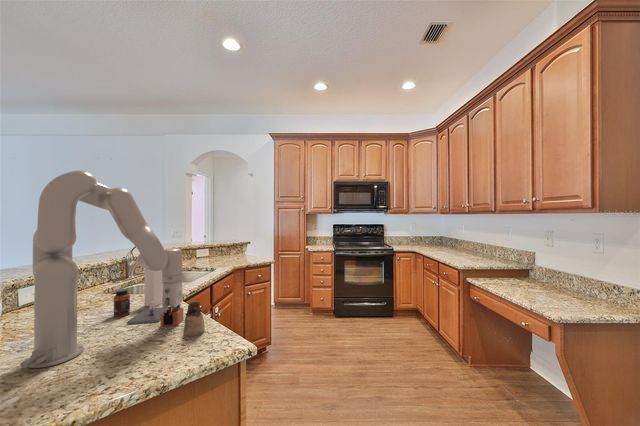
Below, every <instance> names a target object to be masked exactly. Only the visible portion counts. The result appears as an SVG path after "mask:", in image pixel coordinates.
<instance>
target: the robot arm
mask: <svg viewBox="0 0 640 426" xmlns="http://www.w3.org/2000/svg"><path fill="white" fill-rule="evenodd" d="M78 202H82V203H85V204H88V205H90V206H93V207H96V208H99V209H102V210H106V211H108V212H109V213H110V215H111V216H112V218H113V221H114V222H115V223H116V226H117V228H118V230H119V231H120V233H121V234H122V236H124V237H125V238H126V239H128V240H129V241H130V242H131V243H132V244H133V245H134V247H136V249H137V250H138V252H139V255H138V256H137V263H138V265H139V266H140V267H141V268H143V269H144V270H145V269H149V270H152V271H159V270H162V284H163V295H162V304H161V305H162V309H163V316H164V325H172V324H173V314H172V310H173V308H181V307H182V306H181V303H182V302H183V300H184V292H183V283H182V282H183V251H182V250H183V249H180V248H167V249H165V248H164V246H163V245H162V242H161V240H160V239H159V238H158V236H157V235H156V233H155V232H154V231H153V229H152V228H151V227H150V226H149V224H148V223H147V221H146V219H145V218H144V216H143V214H142V212H141V210H140V208H139V206H138V204H137V202H136V201H135V198H134V197H133V195H132V193H131V192H130V191H129V190H128V189H126V188H124V187H123V188H122V187H113V188H112V187H109V186H106V185H103V184H101V183H99V182H98V181H97V179H96V177H95V176H94V175H93V174H91V173H90V172H87V171H84V170H73V171H68V172H65V173H63V174H60V175H58V176H56V177H54V178H53V179H52V180H50V181H49V182H48V183H47V184H46V185H45V187H44V188H43V190H42V191H41V193H40V195H39V200H38V209H37V228H36V230H35V231H34V233H33V236H32V274H33V277H34V278H33V279H34V300H33V301H34V302H33V303H34V304H33V305H34V306H33V308H34V309H33V310H34V311H33V312H34V313H33V315H34V316H33V319H34V323H33V324H34V328H33V329H34V330H33V331H34V332H33V333H34V334H33V335H34V336H33V338H34V339H33V342H34V343H33V350H32V351H31V355H30V357H29V358H27V359H25V360H23V361H21V362H20V365H19V367H20V368H22V369H26V368H30V369H40V368H48V367H52V366H56V365H59V364H61V363H65V362H67V361H69V360H72V359H75V358H76V357H78V356H79V355H81V353H82V352H84V345H82V344H80V343H78V284H79V276H80V275H79V267H78V265H77V264H76V261H75V262H74V260H73V246H74V245H75V243H76V240H77V232H76V230H77V229H76V215H77V205H78ZM168 309H170V311H169V310H168Z"/></svg>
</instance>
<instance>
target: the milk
mask: <svg viewBox="0 0 640 426" xmlns="http://www.w3.org/2000/svg"><path fill="white" fill-rule="evenodd" d="M162 295H163V284H162V270H159V271H152V270H149V269H145V268H144V306H145V307H149V303H150V302H154V303H155V307H156V306H160V305H162Z"/></svg>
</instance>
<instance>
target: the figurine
mask: <svg viewBox="0 0 640 426" xmlns="http://www.w3.org/2000/svg"><path fill="white" fill-rule="evenodd" d="M200 304H201V302H200V301H197V300H192V301H191V302H190V303H188V305H187V311H186V313H185V318H184V327H183V336H184V337H190V338H191V337H197V336H200V335H201V334H203V333H204V332H205V328H206V327H205V321H204V316H203V313H202V309H201V306H200Z"/></svg>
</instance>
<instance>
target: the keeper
mask: <svg viewBox="0 0 640 426" xmlns="http://www.w3.org/2000/svg"><path fill="white" fill-rule="evenodd" d="M162 307H163V306H162ZM162 307H156V306H155V303H154V302H150V303H149V306H148V308H145V309H143V310H142V311H140V312H138V313H137V314H135V315H134V316H133V317H132V318H131V319H129V320H128V321H127V322H126V325H136V324H146V323H147V324H148V323H150V324H151V323H159V322H161V313H162V312H163V309H162Z"/></svg>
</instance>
